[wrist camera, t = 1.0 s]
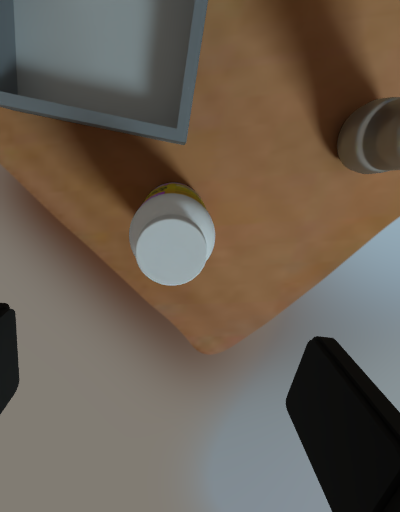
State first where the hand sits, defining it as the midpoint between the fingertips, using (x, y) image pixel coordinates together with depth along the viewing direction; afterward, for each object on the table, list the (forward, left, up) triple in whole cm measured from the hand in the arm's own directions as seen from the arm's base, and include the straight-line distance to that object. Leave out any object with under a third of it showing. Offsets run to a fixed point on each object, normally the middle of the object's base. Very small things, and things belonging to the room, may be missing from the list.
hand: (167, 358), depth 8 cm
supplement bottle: (0, 0, -22) cm, 22 cm away
